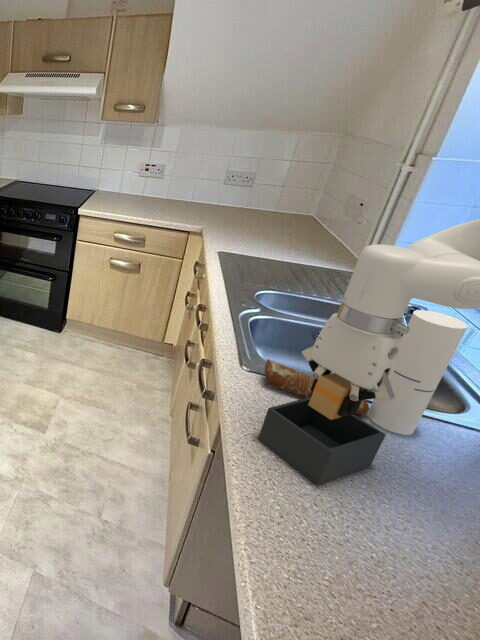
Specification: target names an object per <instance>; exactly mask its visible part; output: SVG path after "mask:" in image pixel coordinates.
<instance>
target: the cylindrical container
mask: <svg viewBox="0 0 480 640" xmlns="http://www.w3.org/2000/svg"><path fill="white" fill-rule="evenodd" d="M406 326H408V327H410V331H409V332H408V333H407V334H402V335H401V336H402V338H401V347H400V352H399V357H398V360H397V364H396V367H395V370H394V373H393V375H392V378H391V380H390V384H391V387H392V390H393V393H394V396H395V397H394V398H393V399H390V400H379V399H372V400H373V401H372V403H371V404H370V407H369V410H368V412H367V417H368V418H369V420H370V421H371V422H372V423H374V424H376V425H377V426H379V427H380V428H382V429H384V430H386V431H388V432H391V433H394V434H398V435H404V436H410V435H413V434H414V433H415V430H416V429H417V427H418V426H419V425H418V424H419V423H420V421H421V419H422V417H423V415H424V414H425V411H426V409H427V407H428V405H429V403H430V401H431V399H432V397H433V395H434V394H435V392H436V390H437V388H438V386H439V384H440V383H441V380H442V378H443V376H444V374H445V372H446V370H447V368H448V366H449V364H450V363H451V360H452V358H453V356H454V355H455V353H456V350H457V349H458V347H459V345H460V343H461V341H462V339H463V337H464V335H465V334H466V331H467V330H468V327H469V326H468V323H466V322H464V321H462V320H460V319H458V318H456V317H453V316H451V315H448V314H444V313H441V312H438V311H437V312H436V311H431V310H424V309H417V310H416V309H415V310H414V311H413V312H412V314H411V317H410V318H409V321H408V323H407V325H406Z"/></svg>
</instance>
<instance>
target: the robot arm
mask: <svg viewBox="0 0 480 640" xmlns="http://www.w3.org/2000/svg"><path fill="white" fill-rule="evenodd" d="M412 299H418V300H421V301H424V302H429V303H432V304H436V305H439V306H444V307H448V308H452V309H460V310H476V309H480V218H477V219H474V220H470V221H465V222H463V223H460V224H457V225H454V226H451V227H448V228H445V229H443V230H440V231H438V232H435V233H433V234H430V235H428V236H426V237H423V238H421V239H419V240H417V241H415V242H413V243H411V244H409V245H407V246H406V247H403V246H398V245H391V244H384V243H383V244H382V243H380V244H379V243H376V244H375V243H374V244H370V245H367V246H366V247H364V248H363V249H362V250H361V252H360V254H359V256H358V259H357V261H356V264H355V267H354V269H353V272H352V274H351V277H350V279H349V282H348V285H347V287H346V290H345V293H344V295H343V297H342V300H341V302H340V305H339V308H338V310H337V312H335V313H333V314H332V315H331V316H329V318H328V319H327V321H326V322H325V324H324V325H323V327H322V329H321V330H320V332H319V334H318V335H317V337H316V339H315V341H314V344H313V345H311V346H309V347H306V348H305V349H303V350H302V351H301V354H302V356H303V357H304V359H305V360H306V361H307V362H308V365H309V368H310V369H311V371H312V374H311V375H312V376H311V377H313V378H315V379H314V381H313V384H312V387H311V391H312V392H311V394H310V398H311V396H312V394H313V391H314V388H315V386H316V383H317V381H318V379H319V377H320V376H324V375H328V374H332V373H336V374H337V375H339V376H341V377H343V378H345V379H347V380H348V381H350V382H351V388H350V394H349V396H347V397H345V398H344V400H343V402H342V404H341V406H340V409H339V411H338V415H339V416H341V417H344V416H347V415H355V414H356V412H357V410H358V408H359V406H360V404H361V402H362V400H366V401H367V400H374V399H379V400H390V399H393V398H394V397H395V396H394V393H393V390H392V387H391V384H390V380H391V378H392V375H393V373H394V370H395V367H396V364H397V360H398V357H399V352H400V347H401V339H402V336H403V334H407V333H408V332H409V331H410V327H408V326H407V325H405V323H404V320H405V318H404V315H405V314H406V311H407V309H408V306H409V304H410V302H411V300H412ZM375 386H376V387H377V390H376V389H374V388H375Z"/></svg>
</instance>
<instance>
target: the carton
mask: <svg viewBox="0 0 480 640" xmlns="http://www.w3.org/2000/svg"><path fill="white" fill-rule="evenodd" d="M350 388H351V382H350V381H348V380H347V379H345V378H343V377H341V376H339V375H337V374H336V373H334V372H332V373H331V374H328V375H324V376H320V377H319V379H318V381H317V383H316V386H315V388H314V391H313V394H312V396H311V399H310V401H309V404H308V406H310V407H312V408H313V409H315V410H316V411H318V412H319V413H321V414H322V415H324V416H326V417H327V418H329V419H330V420H333V419H336V418H340V417H341V416H339V415H338V411H339V409H340V406H341V404H342V402H343V400H344V398H345V397H347V396H349V394H350Z"/></svg>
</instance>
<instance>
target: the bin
mask: <svg viewBox="0 0 480 640" xmlns="http://www.w3.org/2000/svg"><path fill="white" fill-rule="evenodd" d="M310 399H311V398H310V397H308V398H306V397H303V398H300V399H297V400H293V401H289V402H286V403H283V404H279V405H275V406H271V407H268V408H267V412H266V415H265V417H264V421H263V423H262V426H261V427H260V428H261V429H260V432H259V434H258V437H257V440H258V441H259V442H261V443H262V444H263V445H265V446H266V447H267V448H268V449H269V450H271V451H272V452H273V453H275V454H276V455H277V456H278V457H280V458H281V459H282V460H283V461H285V462H286V463H287V464H288V465H290V466H291V467H292V468H294V469H295V470H296V471H297V472H298V473H300V474H301V475H302V476H304V478H306V479H307V480H308V481H310V482H311V483H312V484H313V485H315V486H320V485H323V484H326V483H329V482H332V481H334V480H337V479H340V478H343V477H346V476H348V475H351V474H354V473H357V472H360V471H362V470H365V469H368V468H370V467H371V466H372V464H373V462H374V460H375V458H376V456H377V453H378V452H379V450H380V448H381V445H382V444H383V441H384V439H385V437H386V433H385V432H383V431H381V430H380V429H378V428H376V427H375V426H373V425H372V424H370V423H368V422H367V421H365V420H363V419H361V418H360V417H358V416H357V415H355V414H354V415H347V416H344V417H340V418H336V419H333V420H330V419H329V418H327V417H326V416H324V415H322V414H321V413H319V412H318V411H316V410H315V409H313V408H312V407H310V406H308V404H309V401H310Z"/></svg>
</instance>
